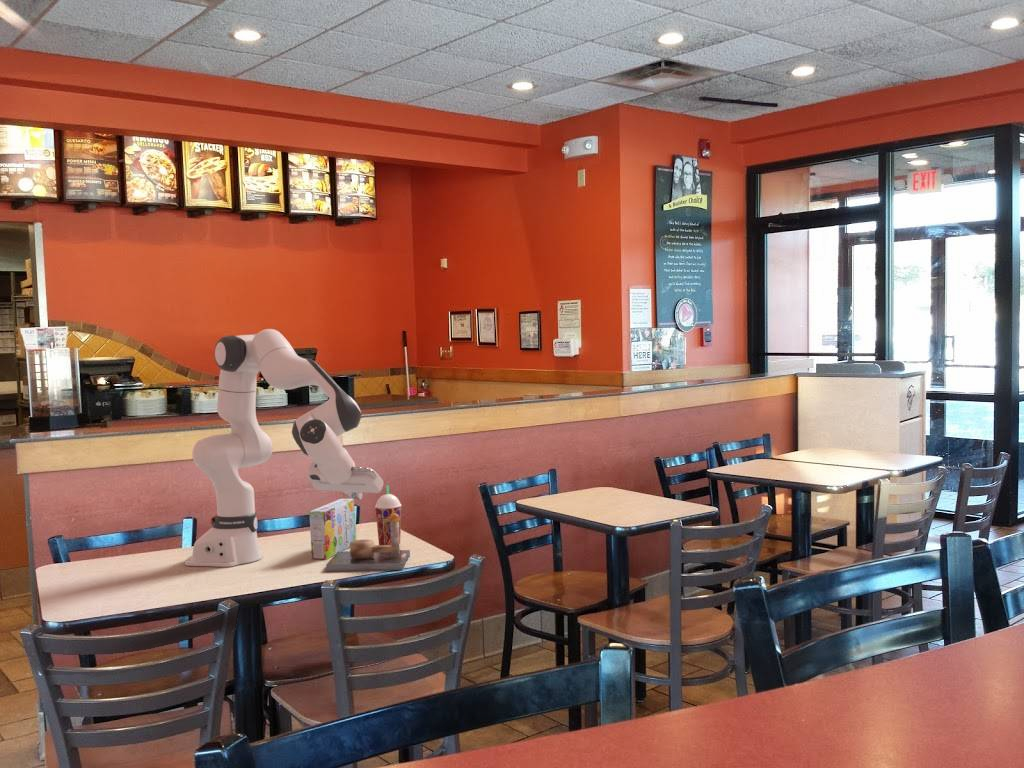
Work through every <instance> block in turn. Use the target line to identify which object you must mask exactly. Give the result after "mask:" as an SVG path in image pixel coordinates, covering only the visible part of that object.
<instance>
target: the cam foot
mask: <svg viewBox="0 0 1024 768" xmlns="http://www.w3.org/2000/svg"><path fill="white" fill-rule="evenodd" d="M389 520H390V525H391V545H379V544H377V545H376V544H375V541H374V540H373V539H356V541H352V542H350V547H349V551H350V557H351V558H358V559H361V558H369V557H372V556H374V552H391V554H393V555H397V554H400V550H401V549H400V544H399V515H398V514H396V513H393V514H391V515H390V517H389Z"/></svg>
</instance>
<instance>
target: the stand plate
mask: <svg viewBox="0 0 1024 768" xmlns="http://www.w3.org/2000/svg"><path fill="white" fill-rule="evenodd" d="M410 557H411V552H410V549H400V554H397V555H393V554H391V552H374V556H372V557H369V558H361V559H358V558H351V557H350V550H348V551H345V550H344V551H342V552H337V553H336V554H335V555H334V556H332V557H331V559H330V560H329V561H328V562H327V563H326V564H325V567H326V572H329V573H330V572H362V571H364V572H367V571H368V572H370V571H371V572H372V571H403V570H404V568H405V566H406V565H405V564H407V563H406V562H408V561H409V559H410ZM408 558H409V559H408Z"/></svg>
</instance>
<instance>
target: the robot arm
mask: <svg viewBox="0 0 1024 768" xmlns="http://www.w3.org/2000/svg"><path fill="white" fill-rule="evenodd" d="M213 354H214V360H215V363H216V365H217V366H218V368H219V369H220V371H219V378H218V389H217V403H216V404H217V405H216V410H217V414H218V416H219V417H220V418H221V419H222V420H224V421H225V422H228V424H230V425H229V426H230V429H231V431H230V433H223V434H213V435H209V436H207V437H203V438H202V439H199V440H196V442H195V443H194V446H193V448H192V460H193V463H194V465H195V466H196V467H197V469H199V470H200V471H201V472H203V473H204V474H205V475H207V477H208V478H209V479H210V481H211V483H212V485H213V488H214V492H215V497H216V498H215V499H216V510H217V511H216V512H217V513H216V514H214V516H212V517H211V518H210V520H209V524H211V528H209V529H208V530H207V531H206V532H205V533H204V534H202V535H201V536H200V537H199V538H198V539H197V540H195V542H194V544H193V547H192V548H193V549H192V555H190V556H188V557H187V558H186V559H185V561H184V564H185V566H188V567H189V566H190V567H191V566H193V567H221V568H226V567H227V568H228V567H229V568H230V567H234V566H237V565H238V566H239V565H243V564H249V563H254V562H256V561H259V560H261V559H262V558H263V555H262V551H261V549H260V544H259V540H258V539H259V538H258V534H257V531H258V518H257V517H258V516H257V511H256V506H255V504H256V503H255V490H254V489H255V488H254V487H253V486H252V484H250V483H249V482H248V481H246V480H243V479H242V478H241V477H240V473H239V469H243V468H249V467H256V466H258V465H261V464H263V463H266V462H268V461H269V460H270V458H271V457H272V454H273V450H274V447H273V441H272V439H271V438H270V436H269V435H268V434H267V433H266V432H265V431H264V430H263V429H262V428H261V426H260V425H259V422H258V418H257V414H256V413H257V412H256V407H257V405H256V403H257V402H256V401H257V400H256V399H257V379H258V378H257V376H258V374H259V372H260V373H261V375H262V377H263V378H264V380H265V381H266V383H267V384H268V385H269V386H271V387H273V388H275V389H279V390H284V391H285V390H286V391H287V390H294V389H297V388H301V387H308V386H315V387H318V388H320V389H321V391H323V392H324V394H325V395H326V396H327V397H328V400H326V401H325V402H323V403H322V404H320V405H318V406H316V407H315V408H313V409H311V410H309V411H308V412H306V413H304V414H302V415H301V416H299V417H298V418H296V419H294V421H293V423H292V429H291V435H292V438H293V440H294V441H295V443H296V444H297V446H298V448H299V449H300V450H301V451H302V453H303V454H304V455H305V456H308V457H309V458H310V459H311V463H310V465H309V466H308V469H307V472H306V478H307V479H309V482H310V483H311V485H312V486H313V487H314V488H315V490H317V491H320V492H338V493H339V492H340V493H343V494H345V495H347V496H348V497H349V498H350V499H354V500H362V499H363V494H379V493H381V491H382V489H383V486H384V480H383V478H382V477H381V476H380V475H379V474H378V472H377V471H376V470H374V469H373V468H371V467H361V466H356V462H354V460H353V458H352V457H351V455H350V454H349V452H348V450H347V449H346V448H345V447H344V446H343V443H342V441H341V440H340V438H339V436H341V435H343V434H345V433H347V432H349V431H353V430H354V429H356V428H358V426H359V424H360V421H361V419H362V411H361V408H360V407H359V405H358V403H357V401H356V400H354V398H353V397H351V396H350V395H348V394H347V393H346V392H345V391H344V390H343V388H341V387H340V386H339V385H338V384H337V383H336V381H335V380H334V379H333V378H332V377H331V376H330V375H329V374H328V372H327V371H325V370H324V368H322V366H321V365H320V364H319V363H318V362H316V361H315V360H313V359H312V358H304V357H301V356H299V355H298V354H297V353H296V351H295V349H294V348H293V346H292V345H291V343H290V342H289V341H288V339H286V337H285V336H284V335H283V334H282V333H281V332H280V331H279V330H276V329H273V328H266V329H263V330H260V331H259V332H257V333H251V334H239V335H234V334H232V335H225V336H222V337H221V338H219V339H218V341H217V342H216V344H215V345H214V353H213Z"/></svg>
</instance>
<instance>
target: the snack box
mask: <svg viewBox="0 0 1024 768" xmlns="http://www.w3.org/2000/svg"><path fill="white" fill-rule="evenodd" d="M355 509H356V508H355V499H351V498H339V499H336V500H335V501H332V502H328V503H327V504H324V505H322V506H320V507H316V508H314V509H313V510H309V512H308V515H309V528H310V531H309V532H310V545H311V546H310V549H311V559H312V560H328V559H330V558H333V557H334V555H335V554H336V553H337V552H343V551H345V550H348V549H350V542H352V541H356V540H357V530H356V529H357V528H356V527H357V526H356V513H355Z"/></svg>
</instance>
